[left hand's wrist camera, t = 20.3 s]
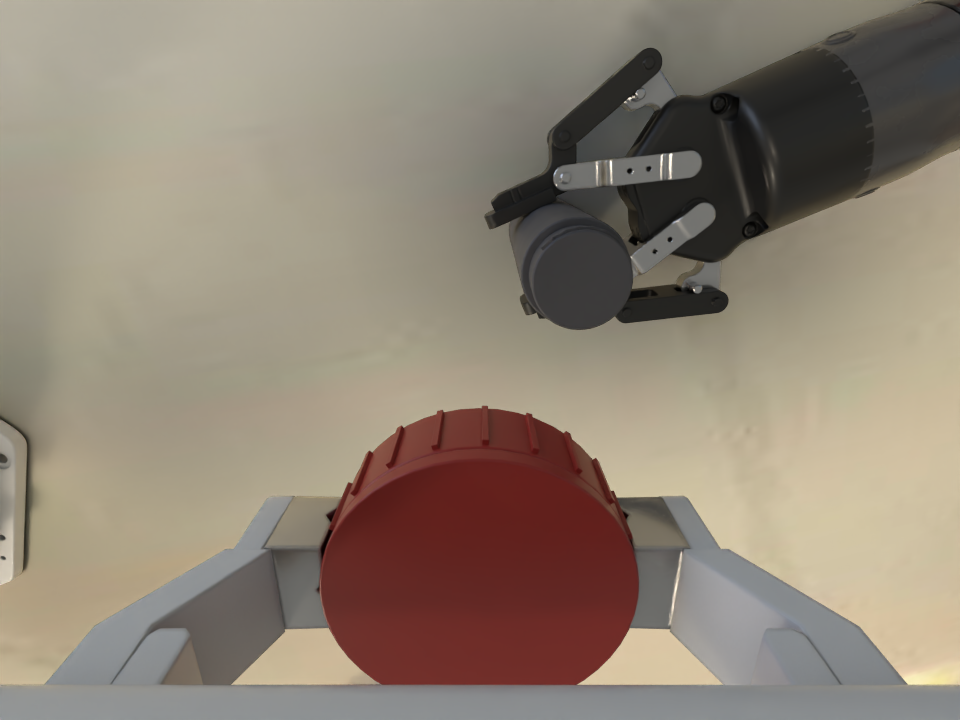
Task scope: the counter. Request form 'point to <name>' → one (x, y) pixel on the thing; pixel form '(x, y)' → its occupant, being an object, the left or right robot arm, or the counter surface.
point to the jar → (571, 265)
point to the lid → (479, 556)
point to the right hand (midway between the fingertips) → (506, 263)
